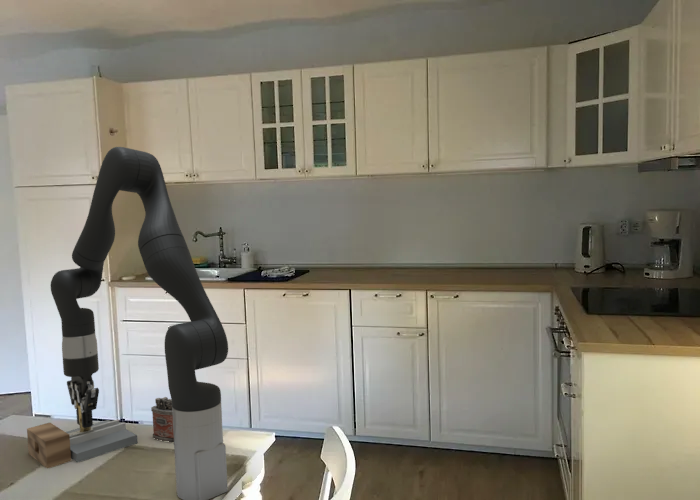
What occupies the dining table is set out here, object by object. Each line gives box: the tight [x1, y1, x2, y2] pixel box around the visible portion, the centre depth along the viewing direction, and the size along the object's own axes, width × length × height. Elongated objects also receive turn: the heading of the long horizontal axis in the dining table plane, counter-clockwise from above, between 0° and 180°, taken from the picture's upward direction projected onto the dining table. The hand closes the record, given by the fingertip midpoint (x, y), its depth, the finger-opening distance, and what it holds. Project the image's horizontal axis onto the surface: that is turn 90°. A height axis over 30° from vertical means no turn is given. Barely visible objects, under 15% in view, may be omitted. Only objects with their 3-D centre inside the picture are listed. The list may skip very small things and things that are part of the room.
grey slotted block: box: [65, 419, 139, 463], centre depth 139 cm, size 16×14×4 cm
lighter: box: [150, 396, 174, 443], centre depth 140 cm, size 8×3×10 cm, turn 62°
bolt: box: [69, 405, 93, 438], centre depth 135 cm, size 2×9×8 cm, turn 136°
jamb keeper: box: [26, 422, 72, 469], centre depth 131 cm, size 12×5×6 cm, turn 46°
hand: (85, 425), depth 137 cm, fingers closed on bolt, 2 cm apart
